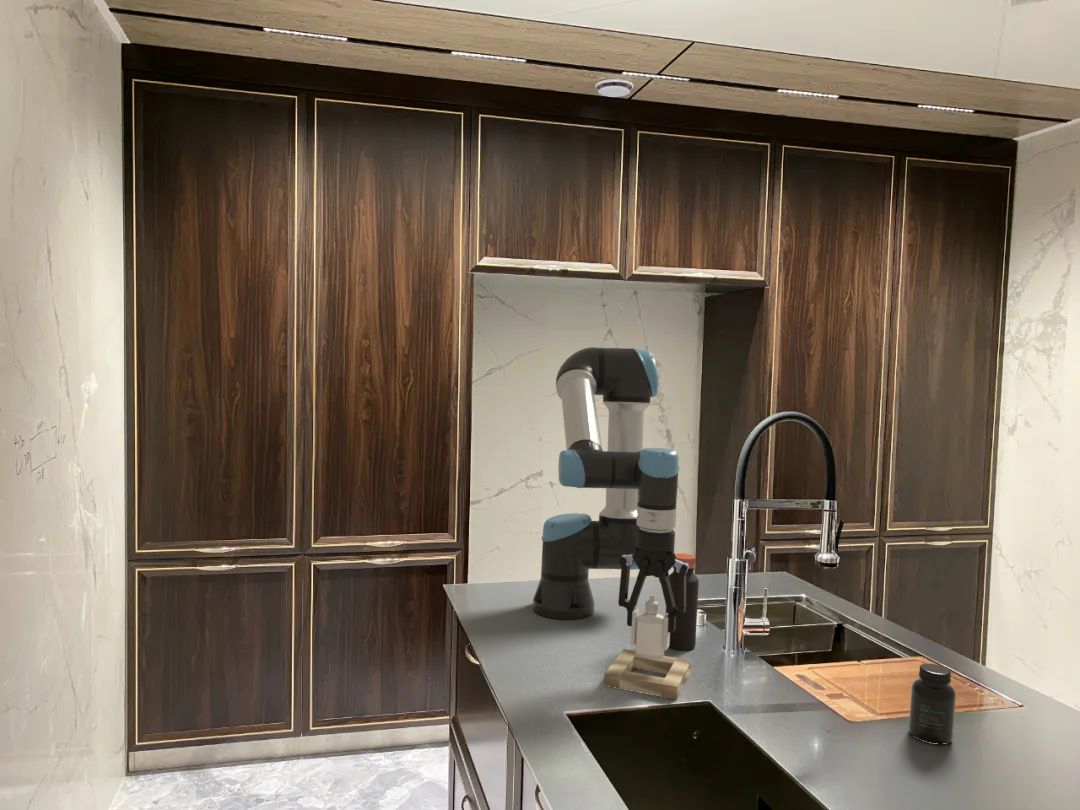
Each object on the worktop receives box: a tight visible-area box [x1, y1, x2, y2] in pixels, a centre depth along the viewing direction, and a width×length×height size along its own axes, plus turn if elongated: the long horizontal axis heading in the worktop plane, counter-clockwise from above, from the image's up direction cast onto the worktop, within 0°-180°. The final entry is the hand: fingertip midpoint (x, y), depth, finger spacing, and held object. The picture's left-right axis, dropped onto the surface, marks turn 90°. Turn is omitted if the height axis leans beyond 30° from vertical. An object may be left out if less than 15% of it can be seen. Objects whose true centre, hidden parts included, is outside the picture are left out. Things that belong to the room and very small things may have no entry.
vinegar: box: [665, 552, 700, 652], centre depth 177 cm, size 7×7×20 cm
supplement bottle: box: [908, 663, 957, 744], centre depth 139 cm, size 7×7×12 cm
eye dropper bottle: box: [634, 594, 665, 659], centre depth 158 cm, size 4×6×12 cm
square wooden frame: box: [603, 648, 692, 701], centre depth 159 cm, size 14×14×2 cm
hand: (650, 644), depth 159 cm, fingers closed on eye dropper bottle, 6 cm apart
